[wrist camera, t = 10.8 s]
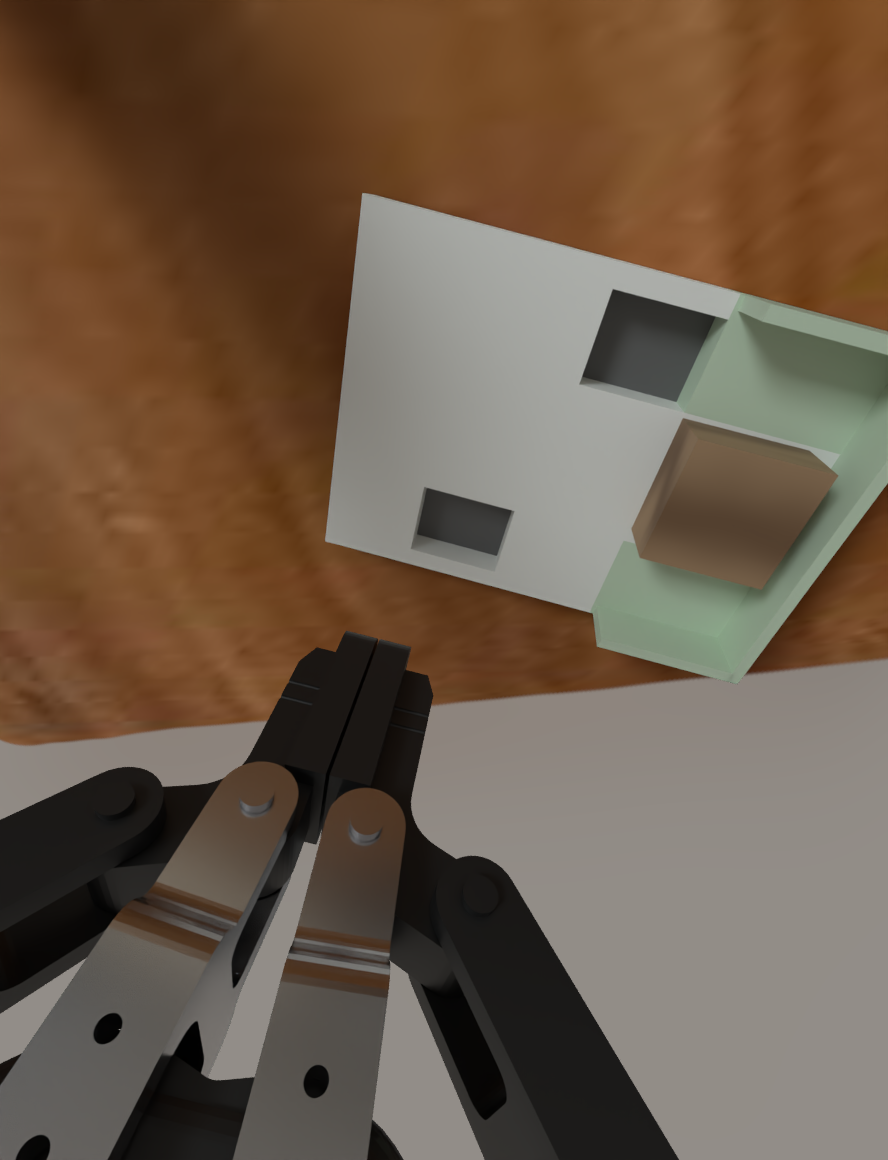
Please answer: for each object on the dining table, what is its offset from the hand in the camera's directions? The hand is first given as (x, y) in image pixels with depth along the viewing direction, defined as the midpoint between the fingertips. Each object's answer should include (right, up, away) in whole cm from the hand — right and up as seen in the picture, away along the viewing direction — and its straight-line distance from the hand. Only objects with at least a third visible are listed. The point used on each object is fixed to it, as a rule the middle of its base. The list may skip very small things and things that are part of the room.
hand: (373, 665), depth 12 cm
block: (+15, +6, +14) cm, 22 cm away
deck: (+8, +9, +16) cm, 20 cm away
